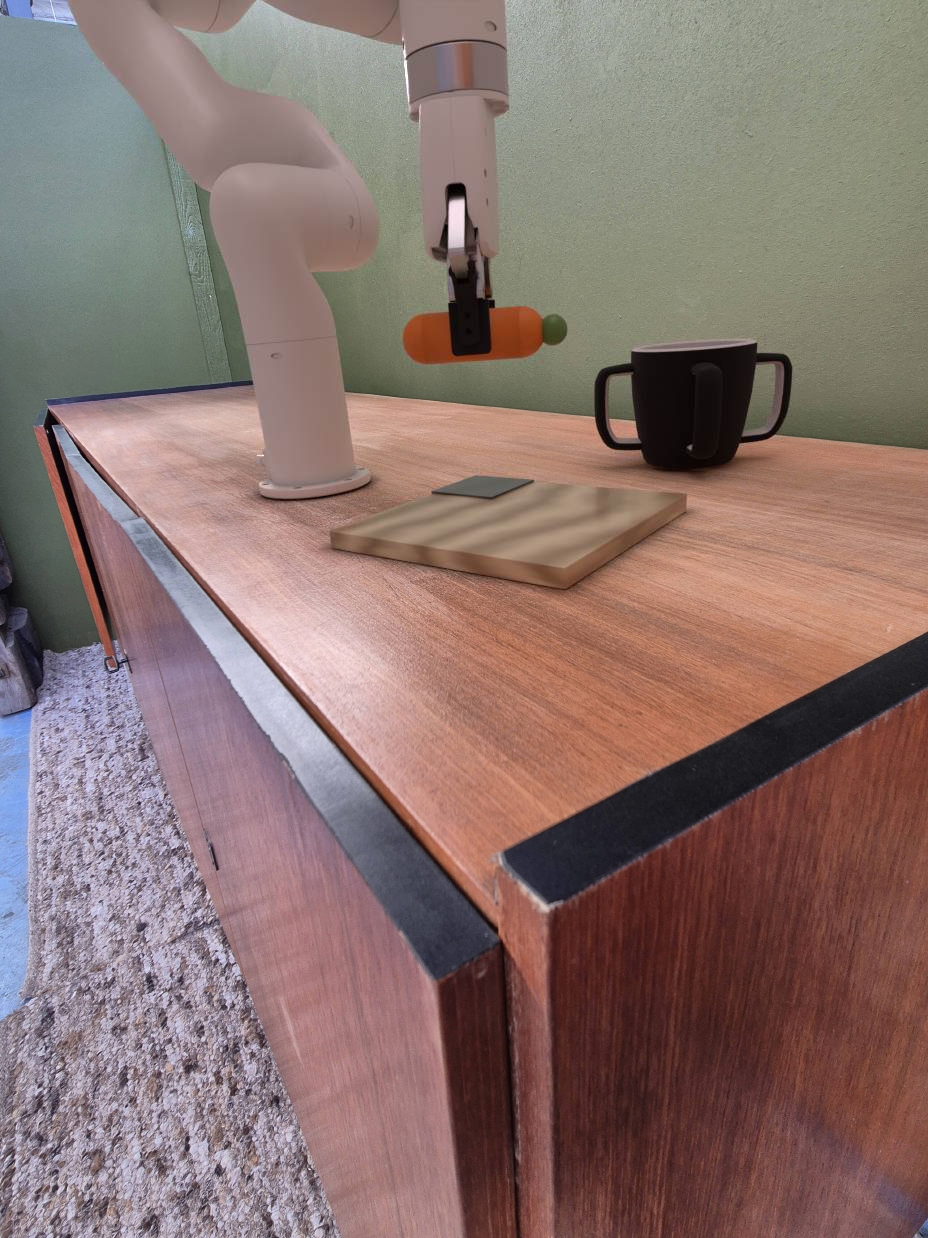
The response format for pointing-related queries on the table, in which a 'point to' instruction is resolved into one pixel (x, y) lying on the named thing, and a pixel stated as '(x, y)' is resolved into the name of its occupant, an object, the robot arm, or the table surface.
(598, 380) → the mug
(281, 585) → the table surface
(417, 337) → the carrot
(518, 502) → the chopping board
